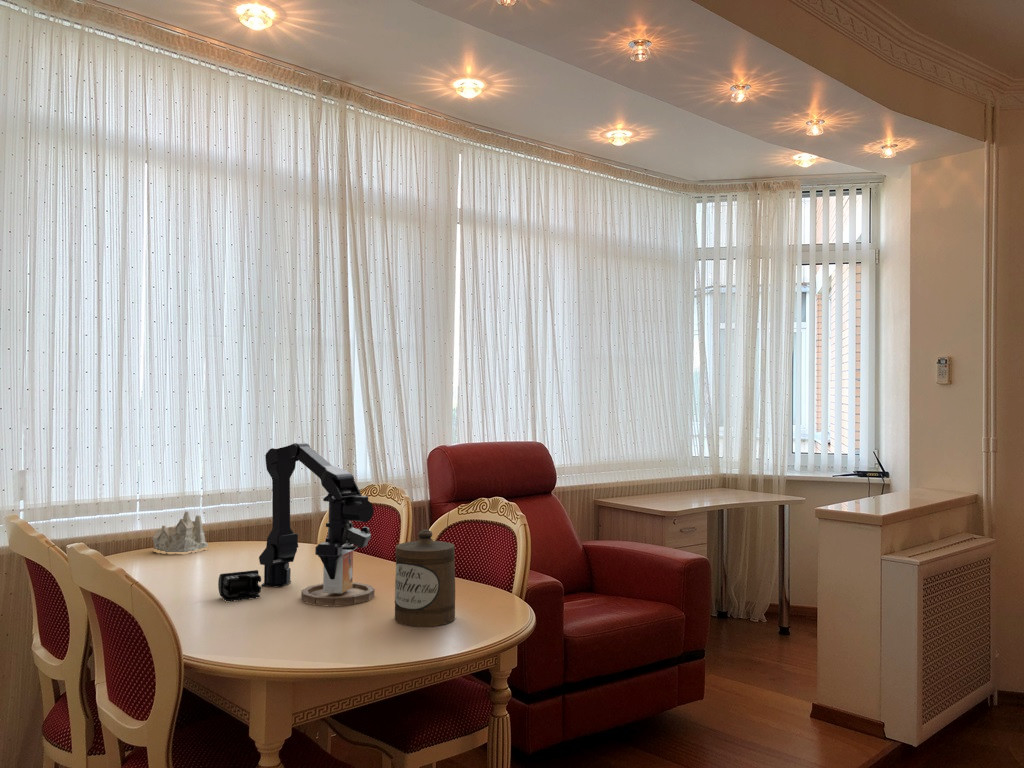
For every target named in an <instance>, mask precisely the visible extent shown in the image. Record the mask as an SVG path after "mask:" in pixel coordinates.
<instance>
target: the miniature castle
mask: <svg viewBox="0 0 1024 768" xmlns="http://www.w3.org/2000/svg"><path fill="white" fill-rule="evenodd" d="M205 534H206V531H205V530H204V528H203V522H202V516H201V515H200V514H197V515H196V516H195V519H194V520H192V519H191V517H190V514H189V511H187V510H186V511H185V512H184V513H183V518H180V519H179V521H178V523H177V524H176V525H174V526H169V527H168V528H166V525H161V530H160V529H157V530H156V532H155V533H154V535H153V537H152V541H153V549H157V550H160V551H165V552H188V551H194V550H198V549H201V548H205V547H207V546H208V547H209V545H208V542H207V541H206V537H205Z"/></svg>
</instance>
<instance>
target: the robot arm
mask: <svg viewBox="0 0 1024 768" xmlns="http://www.w3.org/2000/svg"><path fill="white" fill-rule="evenodd" d="M264 459H265V466H266V471H267V472H268V475H270V477H271V481H272V482H271V485H272V486H271V487H272V488H271V489H272V490H271V491H272V493H271V495H272V497H271V499H272V502H271V503H272V504H271V505H272V513H271V514H272V529H271V531H270V532H269V534H268V536H267V538H266V547H265V549H264V550H263V551H262V552H261V554H260V555H259V556H258V560H259V565H262V566H264V567H263V569H264V570H263V574H264V575H263V583H261V587H274V586H278V587H279V588H282V586H283V587H285V586H286V584H287V585H289V584H291V583H292V580H291V570H292V569H291V567H290V563H293V562H294V560H295V557H296V553H297V552H298V548H299V544H298V543H299V542H298V539H299V535H298V533H297V532H296V533H294V531H293V529H292V527H291V476H292V475H293V473H294V472H295V470H296V465H297V464H296V463H297V462H300V463H301V464H302V465H304V466H305V467H306V468H307V469H308V470H310V471H311V472H312V473H313V474H314V475H315V476H317V478H319V479H320V483H321V486H322V487H323V488H324V489H325V491H326V492H327V495H326V496H325V497H324V498H323V500H322V501H323V502H327V503H328V522H326V523H325V528H327V529H328V530H327V531H328V532H327V533H328V534H327V537H326V538H325V541H323V542H321V543H319V544H317V545H316V546H315V547H314V549H315V551H314V553H315V555H316V556H317V557H318V558H319V559H320V560H321V563H322V565H323V567H324V566H325V569H326V571H327V573H328V575H329V577H330V579H335V574H336V568H337V561H338V559H339V558H340V557H341V556H342V555H343V554H341V553H342V549H346V550H353V552H354V551H355V550H356V549H358V548H361V549H363V548H365V547H367V546H368V543H369V542H370V540H371V539H372V536H371V535H372V533H371V532H370V531H371V529H370V527H367V526H363V527H362V528H355V527H354V523H353V522H359V523H361V522H362V523H368V522H369V521H371V519H372V518H373V516H374V511H375V510H374V507H373V504H372V502H371V501H370V500H369V496H368V495H362V493H361V490H360V489H359V487H358V485H357V483H356V481H355V477H354V475H353V474H351V472H349V471H347V470H345V469H344V468H343V469H342V468H341V467H337V466H334V465H332V464H331V463H330V462H329V461H327V460H326V459H325V458H323V456H322V455H320V453H318V452H317V451H316V450H314V449H313V447H311V446H310V444H309V443H306V442H295V443H294V442H293V443H291V444H290V445H286V446H282V447H271V448H270V449H268V451H267V452H266V453H265V458H264ZM290 582H291V583H290ZM288 583H289V584H288Z"/></svg>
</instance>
